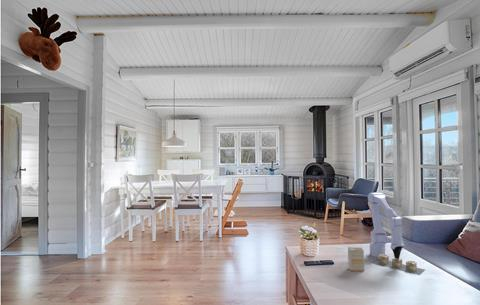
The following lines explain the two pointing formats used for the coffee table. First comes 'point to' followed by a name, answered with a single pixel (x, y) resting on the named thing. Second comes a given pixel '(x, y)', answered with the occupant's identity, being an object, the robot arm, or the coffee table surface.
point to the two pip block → (383, 259)
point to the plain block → (397, 262)
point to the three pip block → (411, 265)
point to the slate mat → (403, 268)
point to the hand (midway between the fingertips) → (397, 258)
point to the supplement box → (356, 259)
